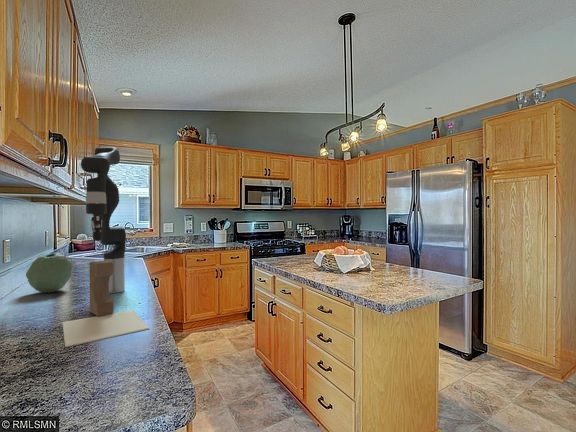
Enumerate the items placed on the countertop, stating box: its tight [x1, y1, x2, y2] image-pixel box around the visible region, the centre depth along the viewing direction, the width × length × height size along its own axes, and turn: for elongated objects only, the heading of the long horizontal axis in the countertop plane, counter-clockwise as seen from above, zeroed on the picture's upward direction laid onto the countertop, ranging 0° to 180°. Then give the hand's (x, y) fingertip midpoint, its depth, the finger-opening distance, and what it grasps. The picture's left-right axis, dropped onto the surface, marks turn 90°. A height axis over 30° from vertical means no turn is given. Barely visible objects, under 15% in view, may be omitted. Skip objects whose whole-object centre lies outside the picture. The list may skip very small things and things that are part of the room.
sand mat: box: [62, 309, 150, 348], centre depth 106 cm, size 26×23×1 cm
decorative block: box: [89, 260, 114, 317], centre depth 120 cm, size 11×6×20 cm, turn 45°
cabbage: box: [25, 251, 73, 294], centre depth 156 cm, size 16×19×20 cm
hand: (96, 240), depth 131 cm, fingers open, 8 cm apart
